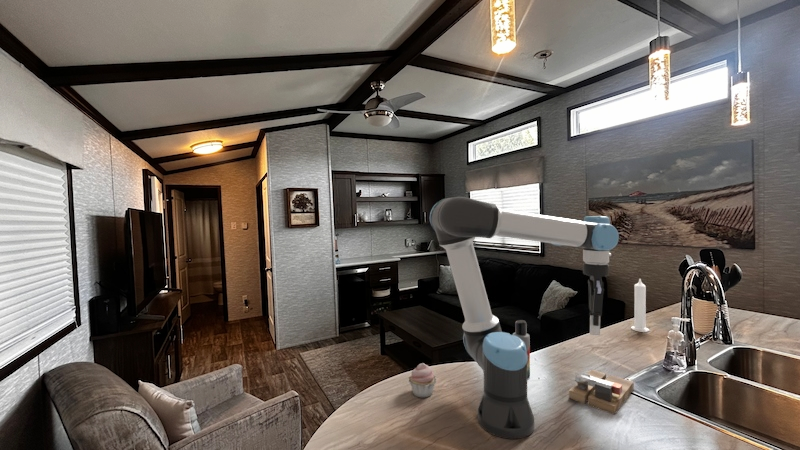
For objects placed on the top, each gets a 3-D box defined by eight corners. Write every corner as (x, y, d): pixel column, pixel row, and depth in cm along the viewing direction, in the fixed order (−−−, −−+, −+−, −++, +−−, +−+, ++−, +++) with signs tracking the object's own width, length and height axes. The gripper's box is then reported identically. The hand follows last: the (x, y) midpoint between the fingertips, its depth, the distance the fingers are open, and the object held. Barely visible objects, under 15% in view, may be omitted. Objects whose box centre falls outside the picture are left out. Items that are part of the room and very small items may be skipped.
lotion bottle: (531, 380, 120) (530, 323, 119) (514, 379, 121) (513, 322, 120) (528, 373, 125) (528, 318, 125) (512, 372, 126) (511, 318, 126)
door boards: (614, 414, 99) (614, 392, 99) (569, 398, 108) (569, 377, 108) (633, 389, 112) (633, 369, 112) (591, 376, 122) (591, 358, 121)
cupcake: (424, 404, 106) (424, 372, 106) (402, 393, 113) (402, 363, 113) (443, 392, 113) (442, 362, 113) (421, 383, 120) (420, 354, 119)
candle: (634, 326, 172) (634, 276, 172) (650, 329, 167) (651, 278, 166) (629, 329, 168) (629, 278, 167) (646, 333, 162) (646, 280, 162)
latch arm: (572, 381, 110) (572, 375, 110) (577, 377, 113) (577, 370, 113) (618, 396, 101) (618, 389, 101) (622, 390, 104) (622, 383, 104)
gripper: (614, 266, 106) (612, 342, 107) (604, 261, 118) (603, 329, 119) (586, 265, 108) (585, 339, 109) (580, 260, 121) (579, 326, 121)
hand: (594, 334), depth 114 cm, fingers closed
